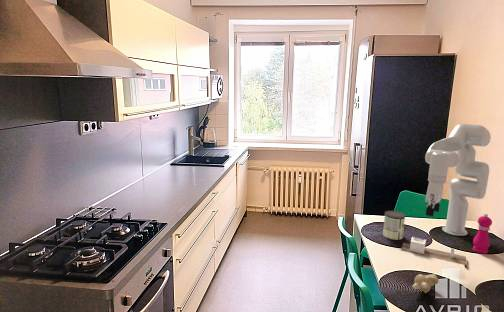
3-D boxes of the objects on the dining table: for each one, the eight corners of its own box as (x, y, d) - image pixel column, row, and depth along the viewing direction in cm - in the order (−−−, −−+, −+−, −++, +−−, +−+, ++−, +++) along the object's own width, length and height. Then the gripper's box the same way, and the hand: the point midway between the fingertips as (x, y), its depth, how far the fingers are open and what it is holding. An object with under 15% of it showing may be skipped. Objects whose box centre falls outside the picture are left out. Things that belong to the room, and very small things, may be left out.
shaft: (450, 256, 167) (451, 248, 166) (453, 256, 166) (454, 248, 165) (450, 258, 164) (451, 250, 163) (453, 259, 163) (454, 251, 163)
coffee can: (382, 233, 195) (384, 209, 193) (401, 236, 192) (404, 212, 190) (382, 240, 186) (385, 215, 183) (403, 243, 183) (406, 218, 180)
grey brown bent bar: (402, 245, 180) (403, 242, 180) (465, 259, 167) (465, 256, 167) (400, 253, 171) (400, 250, 171) (466, 268, 158) (466, 265, 158)
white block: (409, 250, 171) (410, 240, 170) (410, 245, 176) (411, 236, 175) (423, 253, 168) (425, 243, 167) (424, 248, 173) (425, 239, 172)
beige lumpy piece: (439, 274, 140) (428, 276, 132) (440, 292, 139) (430, 295, 131) (418, 272, 146) (406, 273, 138) (419, 290, 144) (408, 292, 136)
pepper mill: (491, 255, 172) (497, 216, 169) (475, 253, 174) (481, 215, 170) (484, 248, 179) (490, 212, 176) (469, 247, 181) (475, 210, 177)
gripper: (433, 174, 171) (428, 207, 174) (423, 179, 158) (418, 215, 161) (450, 177, 166) (445, 211, 169) (441, 183, 153) (436, 219, 156)
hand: (432, 213), depth 165 cm, fingers open, 9 cm apart
